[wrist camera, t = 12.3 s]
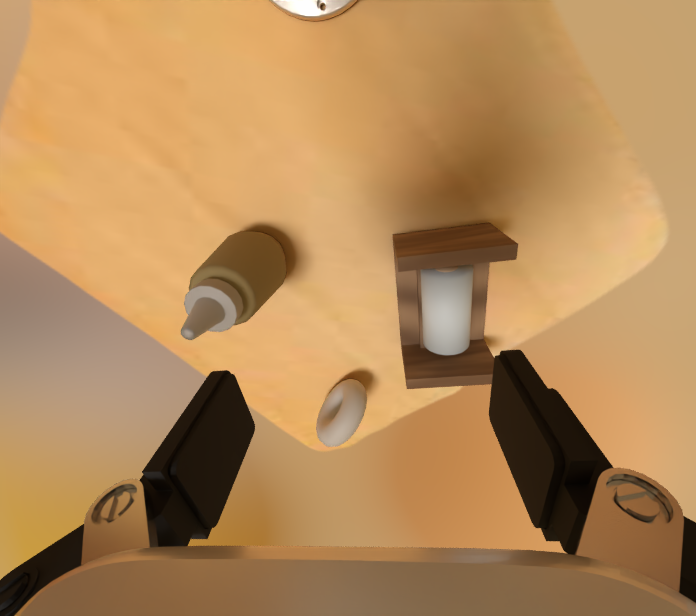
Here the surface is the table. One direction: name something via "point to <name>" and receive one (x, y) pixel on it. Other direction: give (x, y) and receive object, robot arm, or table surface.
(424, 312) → the roll
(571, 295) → the table surface
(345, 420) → the donut
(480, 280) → the cradle
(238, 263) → the squeeze bottle
